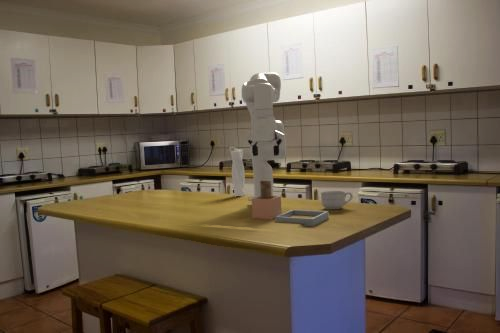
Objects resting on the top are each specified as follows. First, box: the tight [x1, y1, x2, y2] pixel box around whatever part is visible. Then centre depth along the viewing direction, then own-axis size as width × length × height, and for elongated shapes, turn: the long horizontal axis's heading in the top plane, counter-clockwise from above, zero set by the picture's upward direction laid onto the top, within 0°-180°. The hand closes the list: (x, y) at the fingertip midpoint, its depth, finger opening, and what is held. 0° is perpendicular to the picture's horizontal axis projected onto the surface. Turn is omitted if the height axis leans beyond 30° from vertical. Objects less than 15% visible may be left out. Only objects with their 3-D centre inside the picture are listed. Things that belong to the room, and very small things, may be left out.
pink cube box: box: [251, 195, 283, 220], centre depth 197 cm, size 9×9×9 cm
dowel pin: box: [260, 180, 272, 199], centre depth 197 cm, size 4×4×15 cm
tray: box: [274, 209, 330, 227], centre depth 189 cm, size 16×16×3 cm
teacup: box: [320, 190, 354, 210], centre depth 212 cm, size 14×11×8 cm
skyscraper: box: [229, 146, 246, 198], centre depth 266 cm, size 8×8×28 cm
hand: (265, 155), depth 195 cm, fingers open, 9 cm apart
